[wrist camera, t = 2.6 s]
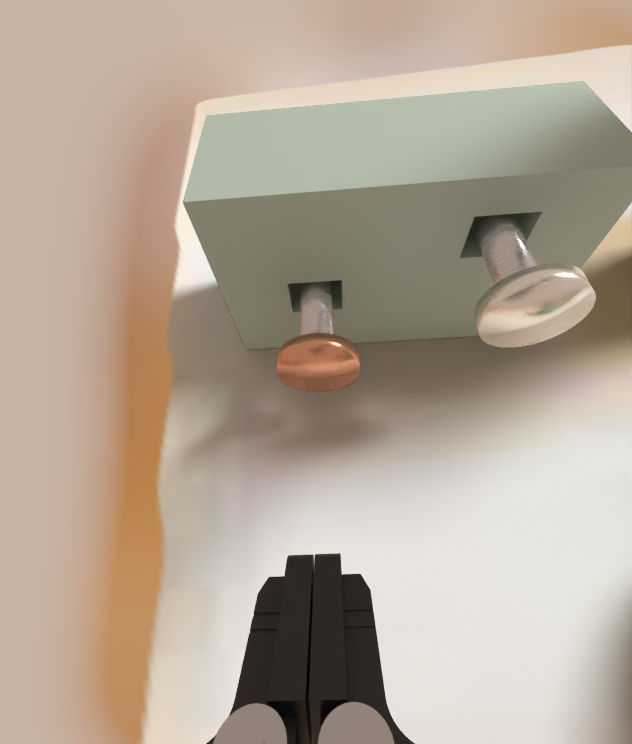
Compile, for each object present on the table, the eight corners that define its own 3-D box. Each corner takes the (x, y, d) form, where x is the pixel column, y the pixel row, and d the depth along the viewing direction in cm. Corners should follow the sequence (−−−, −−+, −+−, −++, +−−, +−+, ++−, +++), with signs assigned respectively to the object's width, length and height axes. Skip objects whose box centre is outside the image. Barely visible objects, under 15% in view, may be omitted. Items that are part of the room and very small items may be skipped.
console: (253, 273, 38) (206, 115, 25) (499, 255, 37) (583, 81, 24) (246, 349, 33) (182, 202, 20) (531, 332, 32) (660, 163, 19)
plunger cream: (426, 214, 28) (443, 139, 23) (497, 209, 28) (529, 132, 23) (466, 350, 22) (501, 284, 17) (559, 344, 21) (622, 276, 17)
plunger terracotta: (286, 267, 33) (276, 213, 28) (346, 262, 32) (347, 208, 28) (283, 393, 26) (269, 351, 21) (359, 389, 26) (362, 346, 21)
